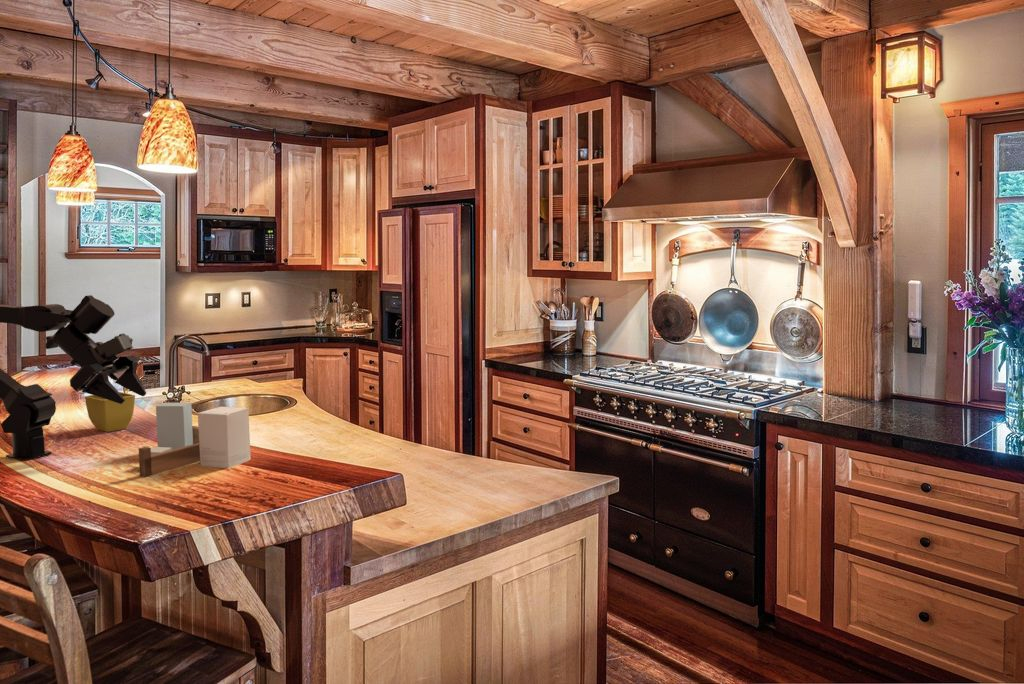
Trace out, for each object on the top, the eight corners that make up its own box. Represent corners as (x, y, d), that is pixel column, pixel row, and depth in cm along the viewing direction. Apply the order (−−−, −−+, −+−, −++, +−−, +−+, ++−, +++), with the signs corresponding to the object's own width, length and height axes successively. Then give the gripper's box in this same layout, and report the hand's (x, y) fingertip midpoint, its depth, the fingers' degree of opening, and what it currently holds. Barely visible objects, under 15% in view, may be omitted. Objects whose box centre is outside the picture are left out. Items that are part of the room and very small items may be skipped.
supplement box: (252, 466, 158) (250, 407, 157) (228, 475, 151) (226, 414, 150) (223, 463, 160) (221, 405, 159) (199, 472, 153) (196, 412, 152)
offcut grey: (142, 458, 151) (142, 451, 150) (154, 453, 155) (153, 446, 154) (160, 459, 150) (160, 452, 150) (172, 454, 154) (171, 447, 154)
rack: (86, 473, 152) (84, 439, 151) (188, 446, 175) (187, 416, 174) (145, 484, 145) (143, 449, 144) (244, 454, 167) (243, 424, 167)
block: (158, 459, 163) (155, 406, 161) (166, 455, 167) (164, 402, 165) (185, 460, 163) (183, 406, 161) (193, 455, 167) (191, 402, 165)
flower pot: (137, 428, 193) (136, 394, 192) (104, 435, 186) (102, 399, 185) (118, 424, 198) (117, 391, 197) (85, 430, 190) (83, 396, 190)
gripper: (80, 326, 152) (137, 379, 153) (128, 319, 171) (178, 367, 172) (45, 364, 153) (101, 416, 154) (96, 353, 172) (146, 400, 173)
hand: (134, 398), depth 163 cm, fingers open, 9 cm apart
